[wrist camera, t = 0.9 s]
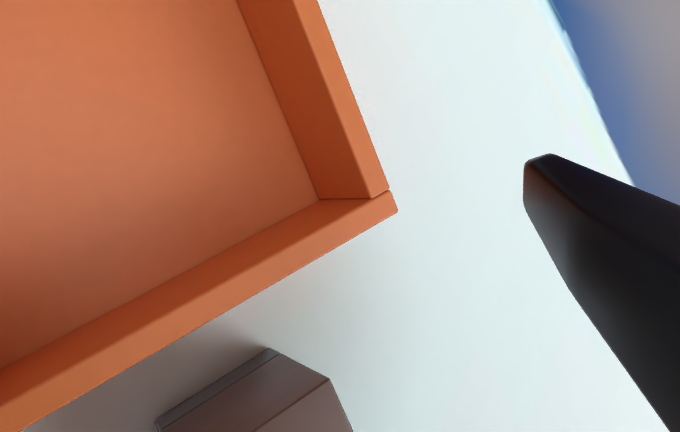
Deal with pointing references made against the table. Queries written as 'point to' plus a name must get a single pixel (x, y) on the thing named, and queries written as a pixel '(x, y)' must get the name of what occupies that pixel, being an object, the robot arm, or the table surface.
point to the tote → (162, 177)
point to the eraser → (262, 401)
